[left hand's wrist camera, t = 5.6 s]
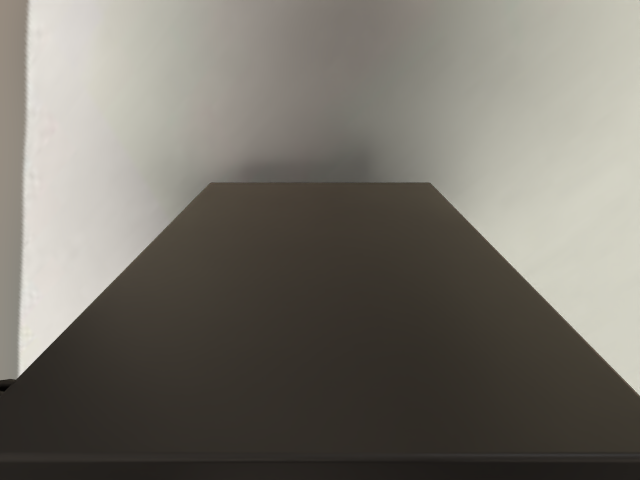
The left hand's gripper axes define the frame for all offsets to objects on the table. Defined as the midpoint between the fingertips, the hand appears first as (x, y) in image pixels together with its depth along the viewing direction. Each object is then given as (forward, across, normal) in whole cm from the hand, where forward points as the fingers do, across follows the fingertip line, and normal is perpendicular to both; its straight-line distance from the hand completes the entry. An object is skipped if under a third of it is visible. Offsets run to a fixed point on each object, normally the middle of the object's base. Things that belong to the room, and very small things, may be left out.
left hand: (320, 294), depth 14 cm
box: (+3, 0, -10) cm, 11 cm away
